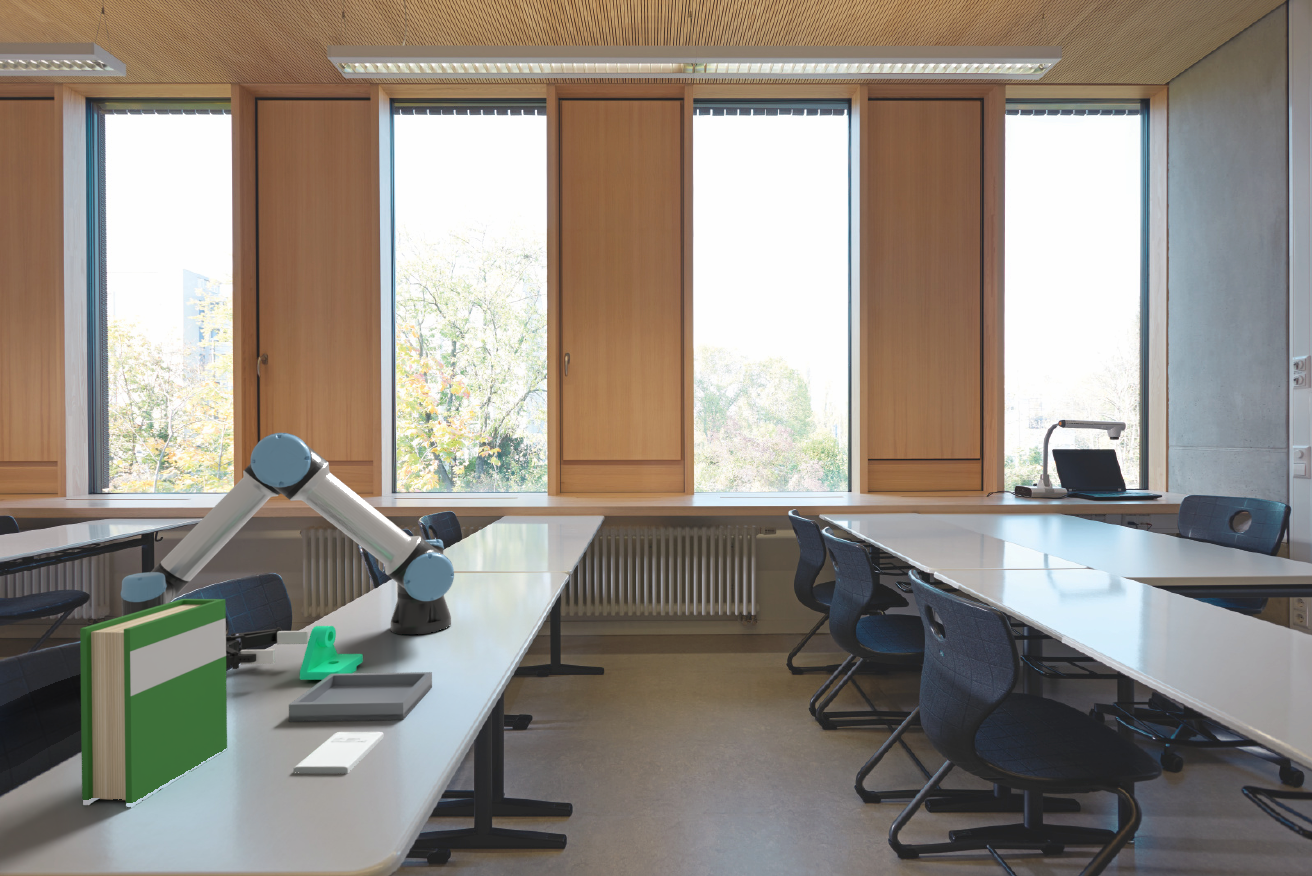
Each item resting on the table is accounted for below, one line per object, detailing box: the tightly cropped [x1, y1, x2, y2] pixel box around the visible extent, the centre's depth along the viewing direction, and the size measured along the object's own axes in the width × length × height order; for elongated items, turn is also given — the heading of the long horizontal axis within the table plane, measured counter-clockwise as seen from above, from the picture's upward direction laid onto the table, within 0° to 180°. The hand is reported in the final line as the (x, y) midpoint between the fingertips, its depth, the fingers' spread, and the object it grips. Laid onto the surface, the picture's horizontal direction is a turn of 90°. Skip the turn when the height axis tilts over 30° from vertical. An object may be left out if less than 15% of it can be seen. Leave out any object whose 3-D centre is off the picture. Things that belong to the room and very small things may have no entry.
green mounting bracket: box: [299, 625, 364, 681], centre depth 146 cm, size 12×8×10 cm, turn 177°
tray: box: [288, 671, 433, 723], centre depth 129 cm, size 16×20×3 cm
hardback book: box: [79, 598, 228, 803], centre depth 102 cm, size 18×7×24 cm, turn 174°
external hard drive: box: [293, 731, 385, 775], centre depth 108 cm, size 2×8×12 cm
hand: (291, 646), depth 146 cm, fingers open, 13 cm apart
